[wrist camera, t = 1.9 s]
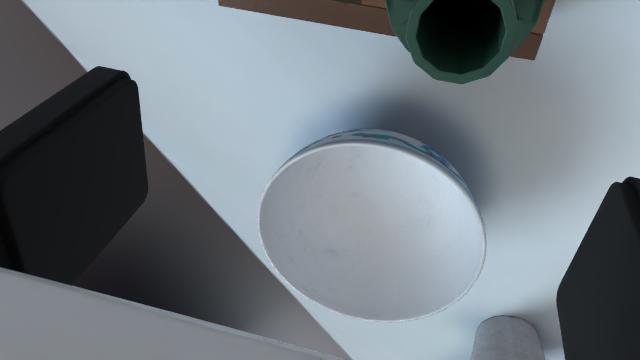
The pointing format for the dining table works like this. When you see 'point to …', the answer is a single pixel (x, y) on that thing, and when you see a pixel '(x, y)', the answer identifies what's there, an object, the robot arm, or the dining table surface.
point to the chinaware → (373, 226)
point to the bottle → (462, 34)
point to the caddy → (367, 16)
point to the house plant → (506, 340)
